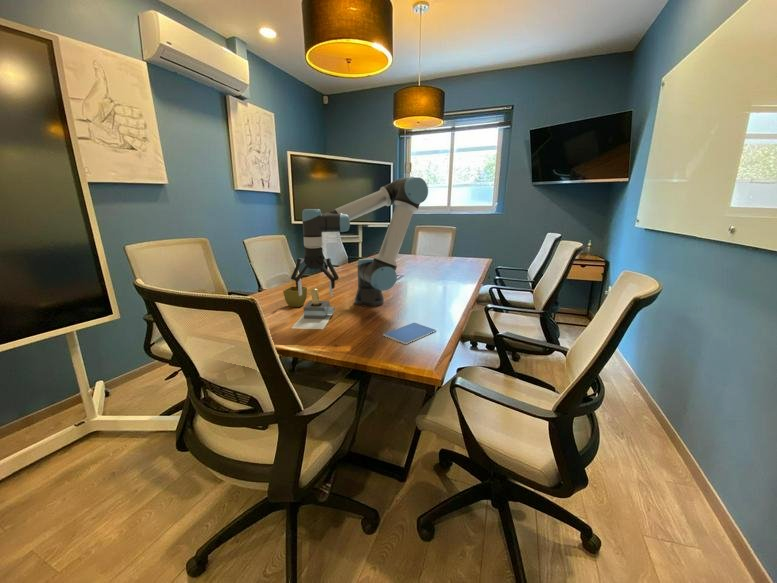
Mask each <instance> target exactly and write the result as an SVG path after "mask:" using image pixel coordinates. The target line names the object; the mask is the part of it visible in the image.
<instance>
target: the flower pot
mask: <svg viewBox="0 0 777 583" xmlns="http://www.w3.org/2000/svg"><path fill="white" fill-rule="evenodd" d="M282 292H283V297H284V300H285V302H286V304H287V305H288V306H289V307H291V308H300V307H302V306H303V305H305V302H306V300H307V296H308V286H302V295H301V296H299V292H298V288H296V285H295V286H294V285H293V286H289V287H288V288H285V289H283V290H282Z"/></svg>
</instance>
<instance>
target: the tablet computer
mask: <svg viewBox="0 0 777 583" xmlns="http://www.w3.org/2000/svg"><path fill="white" fill-rule="evenodd" d="M433 331H437V330H436V329H435V328H431V327H428V326H427V325H422V324H420V323H417V322H412V323H408V324H407V325H403V326H400V327H399V328H395V329H393V330H390V331H387V332H385V333H383V334H382V337H384V336H385V337H384V338H387V337H388V338H387V339H389V338H390V339H389V340H391V339H393V340H392V341H394V340H395V341H394V342H396V341H398V342H397V343H399V342H401V343H403V344H402V345H404V344H406V345H408V343H409V344H411V343H413V342H415V340H416V339H418V338H420V339H422V338H421V337H423V336H425V335H427V334H429V333H431V332H433ZM427 336H428V335H427ZM425 337H426V336H425ZM423 338H424V337H423ZM418 340H419V339H418ZM412 341H413V342H412ZM416 341H417V340H416ZM410 342H411V343H410ZM401 343H400V344H401Z"/></svg>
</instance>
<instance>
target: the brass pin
mask: <svg viewBox="0 0 777 583" xmlns="http://www.w3.org/2000/svg"><path fill="white" fill-rule="evenodd" d="M310 294H311V301H312V304H313V306H320V304H319V301H320V296H319V289H318V288H317V287H316V288H311V289H310Z"/></svg>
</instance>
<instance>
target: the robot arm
mask: <svg viewBox="0 0 777 583" xmlns="http://www.w3.org/2000/svg"><path fill="white" fill-rule="evenodd" d="M428 195H429V187H428V185H427V182H426V181H425V179H423V178H422V177H420V176H414V175H412V176H409V177H402V178H401V177H400V178H398V179H396V180H394V181H392V182H390V183H388V184H386V185H384V186H381V187H380V188H379V190H376V191H375V192H372V193H371V194H368V195H366V196H363V197H361V198H358V199H356V200H353V201H351V202H348V203H346V204H344V205H341V206H339V207H337V208H335V209H332V210H330V211H327V212H323V213H322V211H321V209H319V208H314V209H313V208H309V209H308V208H305V209H303V210H302V212H301V213H302V215H301V217H302V220H301V221H302V234H303V246H304V248H303V251H304V258H302V257H299V258H297V259H296V264H295V267H294V270H293V272H292V274H291V277H290V279H291V280H293V281H295V286H296V288H298V292H299V296H301V295H302V287H303V283H302V279H301V278H302V277H303V276H304V275H305V273H306V272H307V271H308V269H310V270H313V269H315V270H318V269H319V270H320V271H322V273H323V274H324V275H325V276H326V277H327V278H328V279H329V282H328V283H329V286H328V288H329V297H333V295H334V290H333V289H335V287H336V286H335V285H336V284H335V283H336V281H338V280H339V278H340V276H339V275H338V274H337V271H336V269H335V268H334V265H333V264H332V261H331V260H332V259H331V258H330V257H328V258H324V252H323V250H324V249H323V247H322V246H323V234H322V233H343V232H348V231H349V230H350V226H351V221H352V220H355V219H357V218H360V217H362V216H364V215H367V214H369V213H371V212H374V211H376V210H379V209H380V208H383V207H385V206H386V207H389V206H394V205H395V207H394V211H393V214H392V216H391V219H390V222H389V224H388V226H387V230H386V233H385V236H384V239H383V241H382V244H381V246H380V249H379V252H378V255H376V256H374V257H373V258H372V257H371V258H370V257H369V258H361V259H358V260H357V264H356V267H357V291H356V293H355V297H354V304H356V305H357V306H361V307H379V306H381V305H383V304H384V303H385V300H384V295H383V292H382V291H388V290H391V289H392V288H393V287H394V286H395V284H396V282H397V279H398V275H397V272H396V270H397V267H398V265H397V263H396V260H397V258H398V255H399V253H400V250H401V248H402V245H403V242H404V240H405V236H406V234H407V231H408V229H409V225H410V223H411V220H412V217H413V216H414V215H413V214H414V213H415V212H418V210H419V207H420V206H421V204H422V203H423V202H425V201H426V200H427V198H428ZM303 263H304V264H305V266H304V267H303V268H302V270H301V271H300V268H301V265H302V264H303ZM324 263H325V265H327V267H328V268H329V270H328V269H327V268H326V266H325V265H324ZM299 271H300V273H298V272H299ZM329 271H330V272H329Z"/></svg>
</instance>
